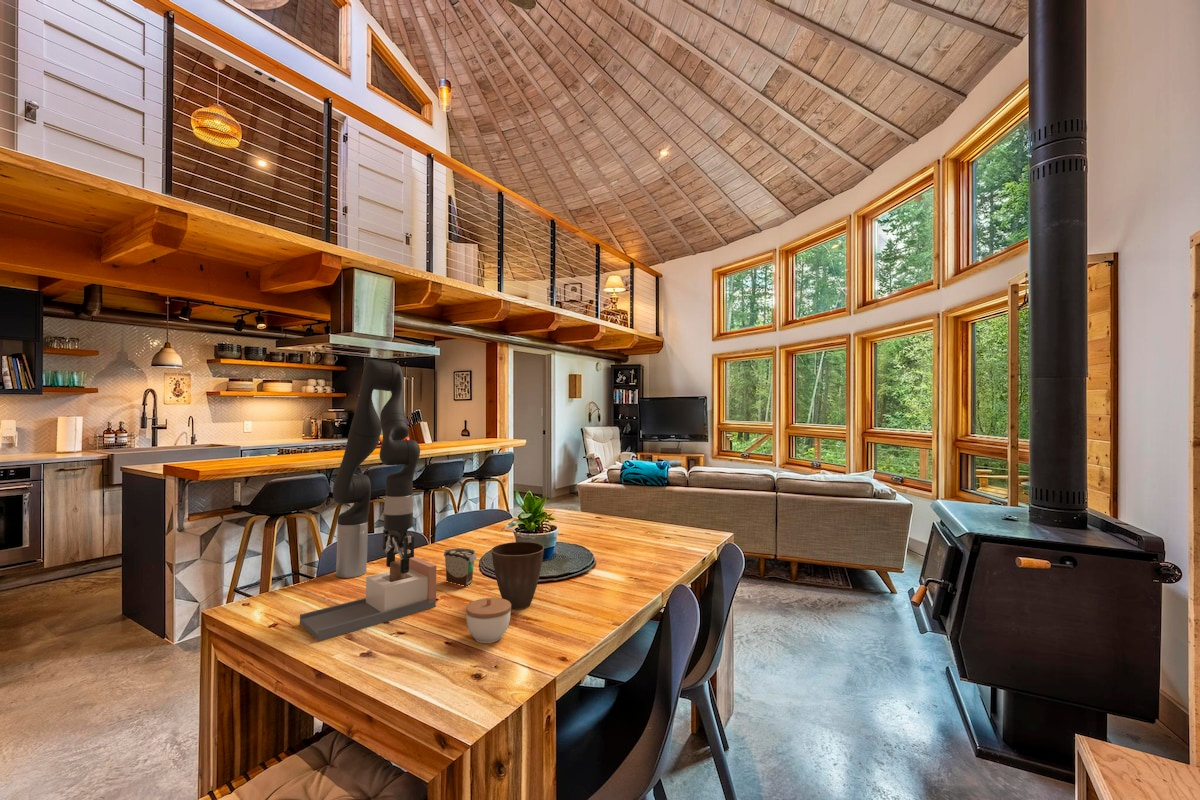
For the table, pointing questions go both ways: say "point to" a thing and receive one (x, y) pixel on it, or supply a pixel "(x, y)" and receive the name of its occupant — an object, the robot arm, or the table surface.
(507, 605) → the lidded jar
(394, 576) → the dowel
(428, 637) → the table surface
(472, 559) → the food container
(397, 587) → the socket block
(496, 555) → the plant pot
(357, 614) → the track
